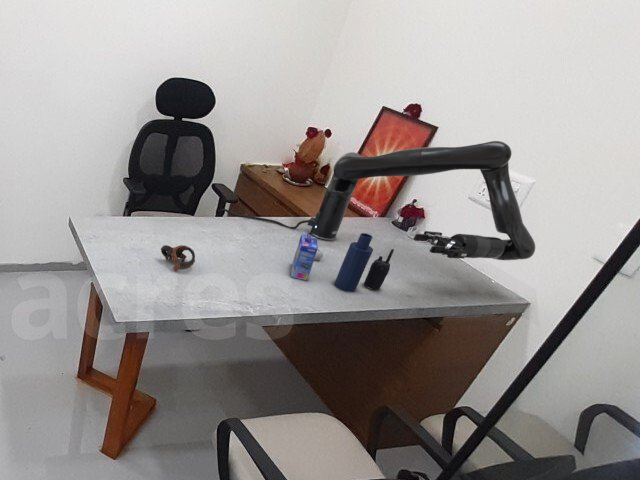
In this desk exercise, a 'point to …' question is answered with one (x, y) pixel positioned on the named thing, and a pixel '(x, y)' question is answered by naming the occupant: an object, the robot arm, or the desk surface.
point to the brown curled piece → (178, 256)
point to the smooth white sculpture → (318, 255)
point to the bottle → (354, 264)
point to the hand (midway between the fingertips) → (423, 243)
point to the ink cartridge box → (304, 257)
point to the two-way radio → (378, 272)
